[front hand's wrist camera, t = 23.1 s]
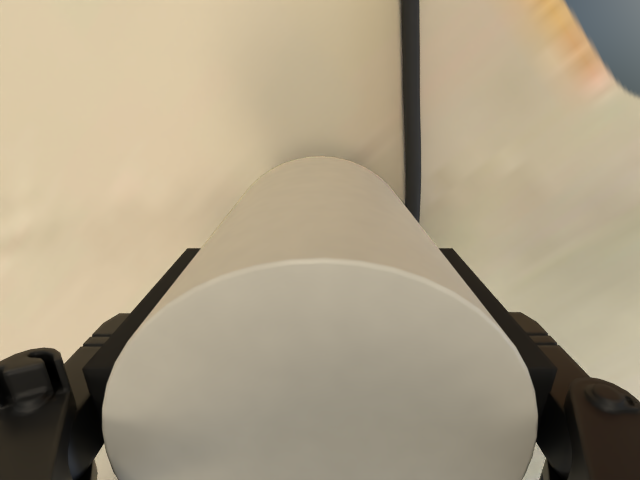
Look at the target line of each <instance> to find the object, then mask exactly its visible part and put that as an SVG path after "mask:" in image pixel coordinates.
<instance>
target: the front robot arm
mask: <svg viewBox="0 0 640 480" xmlns="http://www.w3.org/2000/svg"><path fill="white" fill-rule="evenodd" d="M401 4H402V42H403V95H404V125H405V153H406V203H405V206H406V208H407V209H408V210H409V211H410V213H411V214H412V215H413V217H414V218H415V219H416V220H417V222H418V223H419V217H420V194H421V129H420V32H419V0H401ZM200 249H201V248H187V249H186V251H185V252H184V253H183V254H182V255H181V256H180V257H179V259H178V260H177V261H176V262H175V263H174V264H173V265H172V267H171V268H170V269H169V270H168V271H167V272H166V273H165V275H164V276H163V277H162V278H161V279H160V280H159V281H158V283H157V284H156V285H155V286H154V287H153V288H152V289H151V291H150V292H149V293H148V294H147V295H146V296H145V297H144V299H143V300H142V301H141V302H140V303H139V304H138V305H137V307H136V308H135V309H134V310H133V311H132V312H131V313H119V314H118V315H116V316H114V317H113V318H111V319H109V320H108V321H106V322H104V323H103V324H102V325H101V326H100V327H99V328H98V329H97V330H96V331H95V332H94V333H93V334H92V337H90V338H89V339H88V340H87V341H86V342H85V343H84V344H83V347H80V348H79V349H78V350H77V351H76V352H75V353H74V354H73V355H72V356H71V357H70V358H69V360H68V361H67V362H66V363H65V364H64V363H63V360H62V357H61V354H60V352H58V351H57V350H55V349H52V348H37V349H30V350H27V351H24V352H21V353H17V354H15V355H12V356H10V357H8V358H6V359H4V360H2V361H0V480H97V467H96V463H95V460H94V458H95V457H96V455H97V454H98V452H99V450H100V449H101V447H102V446H103V444H105V443H104V438H103V433H102V407H103V401H104V396H105V390H106V385H107V382H108V379H109V377H110V374H111V372H112V369H113V366H114V364H115V362H116V360H117V358H118V357H119V355H120V353H121V352H122V350H123V348H124V347H125V345H126V343H127V342H128V340H129V339H130V338H131V337H132V335H133V334H134V333H135V331H136V330H137V329H138V328H139V326H140V325H141V324H142V323H143V321H144V320H145V319H146V318H147V316H148V315H149V314H150V312H151V311H152V310H153V309H154V307H155V306H156V305H157V304H158V302H159V301H160V300H161V299H162V297H163V296H164V295H165V293H166V292H167V291H168V290H169V288H170V287H171V286H172V285H173V283H174V282H175V281H176V280H177V278H178V277H179V276H180V274H181V273H182V272H183V271H184V269H185V268H186V267H187V266H188V264H189V263H190V262H191V261H192V259H193V258H194V257H195V255H196V254H197V253H198V252H199V250H200ZM439 250H440V251H441V252H442V254H443V255H444V256H445V257H446V259H447V260H448V261H449V262H450V264H451V265H452V266H453V268H454V269H455V270H456V271H457V273H458V274H459V275H460V276H461V278H462V279H463V280H464V282H465V283H466V284H467V285H468V287H469V288H470V289H471V290H472V292H473V293H474V294H475V296H476V297H477V298H478V299H479V301H480V302H481V303H482V304H483V306H484V307H485V308H486V310H487V311H488V312H489V313H490V315H491V316H492V317H493V318H494V320H495V321H496V322H497V324H498V325H499V326H500V327H501V329H502V330H503V331H504V332H505V334H506V335H507V336H508V338H509V339H510V340H511V341H512V343H513V344H514V345H515V346H516V348H517V350H518V352H519V354H520V356H521V357H522V359H523V361H524V363H525V365H526V367H527V368H528V372H529V375H530V378H531V381H532V384H533V387H534V390H535V396H536V404H537V411H538V425H537V438H536V442H537V444H538V446H539V447H540V449H541V450H542V452H543V454H544V455H545V457H546V460H545V463H544V466H543V470H542V473H541V476H540V479H539V480H640V402H639V401H638V400H637V399H636V398H635V397H634V396H632V395H631V394H630V393H629V392H627V391H626V390H624V389H622V388H620V387H618V386H617V385H615V384H613V383H610V382H607V381H604V380H601V379H597V378H591V377H589V376H588V375H587V374H586V373H585V371H584V370H583V369H582V368H581V367H580V366H579V365H578V364H577V363H576V362H575V361H574V360H573V359H572V358H571V357H570V356H569V355H568V354H567V353H566V352H565V351H564V350H563V349H562V348H561V347H560V346H559V345H557V342H556V341H555V340H554V339H553V338H552V337H551V336H548V333H547V332H546V331H545V330H544V329H543V328H542V327H541V326H540V325H539V324H538V323H537V322H536V321H534V320H533V319H531V318H529V317H528V316H526V315H524V314H523V313H521V312H508V311H507V310H506V309H505V308H504V307H503V306H502V305H501V303H500V302H499V301H498V300H497V299H496V298H495V297H494V295H493V294H492V293H491V292H490V291H489V290H488V289H487V287H486V286H485V285H484V284H483V283H482V282H481V281H480V279H479V278H478V277H477V276H476V275H475V274H474V273H473V271H472V270H471V269H470V268H469V267H468V266H467V265H466V263H465V262H464V261H463V260H462V259H461V258H460V257H459V255H458V254H457V253H456V252H455V251H454V250H453V249H452V248H439Z"/></svg>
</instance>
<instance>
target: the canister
mask: <svg viewBox="0 0 640 480" xmlns="http://www.w3.org/2000/svg"><path fill="white" fill-rule="evenodd" d="M537 425H538V411H537V404H536V396H535V390H534V387H533V384H532V381H531V378H530V375H529V372H528V368H527V367H526V365H525V363H524V361H523V359H522V357H521V356H520V354H519V352H518V350H517V348H516V346H515V345H514V344H513V343H512V341H511V340H510V339H509V338H508V336H507V335H506V334H505V332H504V331H503V330H502V329H501V327H500V326H499V325H498V324H497V322H496V321H495V320H494V318H493V317H492V316H491V315H490V313H489V312H488V311H487V310H486V308H485V307H484V306H483V304H482V303H481V302H480V301H479V299H478V298H477V297H476V296H475V294H474V293H473V292H472V290H471V289H470V288H469V287H468V285H467V284H466V283H465V282H464V280H463V279H462V278H461V276H460V275H459V274H458V273H457V271H456V270H455V269H454V268H453V266H452V265H451V264H450V262H449V261H448V260H447V259H446V257H445V256H444V255H443V254H442V252H441V251H440V250H439V248H438V247H437V246H436V245H435V243H434V242H433V241H432V239H431V238H430V237H429V236H428V234H427V233H426V232H425V231H424V229H423V228H422V227H421V225H420V224H419V223H418V222H417V220H416V219H415V218H414V217H413V215H412V214H411V213H410V211H409V210H408V209H407V208H406V206H405V205H404V204H403V203H402V201H401V200H400V199H399V197H398V196H397V195H396V194H395V192H394V191H393V190H392V189H391V187H390V186H389V185H388V184H387V183H386V182H385V181H384V180H383V179H382V178H381V177H379V176H378V175H376V174H375V173H374V172H372V171H371V170H369V169H367V168H365V167H363V166H361V165H360V164H357V163H354V162H351V161H349V160H345V159H341V158H336V157H326V156H314V157H305V158H299V159H295V160H292V161H289V162H286V163H283V164H281V165H279V166H277V167H275V168H273V169H271V170H269V171H268V172H266V173H265V174H263V175H262V176H261V177H260V178H259V179H257V180H256V181H255V182H254V183H253V184H252V185H251V186H250V187H249V189H248V190H247V191H246V192H245V193H244V195H243V196H242V197H241V198H240V200H239V201H238V202H237V203H236V205H235V206H234V207H233V209H232V210H231V211H230V212H229V214H228V215H227V216H226V217H225V219H224V220H223V221H222V222H221V224H220V225H219V226H218V228H217V229H216V230H215V231H214V233H213V234H212V235H211V236H210V238H209V239H208V240H207V242H206V243H205V244H204V245H203V247H202V248H201V249H200V250H199V252H198V253H197V254H196V255H195V257H194V258H193V259H192V261H191V262H190V263H189V264H188V266H187V267H186V268H185V269H184V271H183V272H182V273H181V274H180V276H179V277H178V278H177V280H176V281H175V282H174V283H173V285H172V286H171V287H170V288H169V290H168V291H167V292H166V293H165V295H164V296H163V297H162V299H161V300H160V301H159V302H158V304H157V305H156V306H155V307H154V309H153V310H152V311H151V312H150V314H149V315H148V316H147V318H146V319H145V320H144V321H143V323H142V324H141V325H140V326H139V328H138V329H137V330H136V331H135V333H134V334H133V335H132V337H131V338H130V339H129V340H128V342H127V343H126V345H125V347H124V348H123V350H122V352H121V353H120V355H119V357H118V358H117V360H116V362H115V364H114V366H113V369H112V372H111V374H110V377H109V379H108V382H107V385H106V390H105V396H104V401H103V407H102V433H103V438H104V443H105V449H106V453H107V456H108V458H109V461H110V464H111V466H112V469H113V472H114V473H115V475H116V477H117V479H118V480H522V479H523V477H524V475H525V473H526V471H527V468H528V466H529V463H530V461H531V458H532V456H533V451H534V447H535V443H536V438H537Z"/></svg>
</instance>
